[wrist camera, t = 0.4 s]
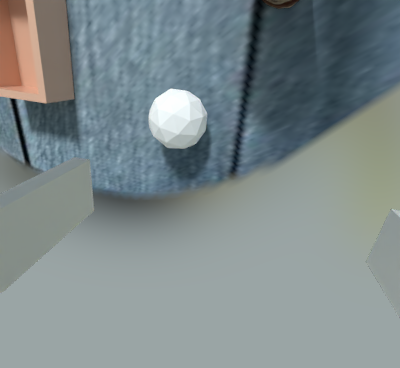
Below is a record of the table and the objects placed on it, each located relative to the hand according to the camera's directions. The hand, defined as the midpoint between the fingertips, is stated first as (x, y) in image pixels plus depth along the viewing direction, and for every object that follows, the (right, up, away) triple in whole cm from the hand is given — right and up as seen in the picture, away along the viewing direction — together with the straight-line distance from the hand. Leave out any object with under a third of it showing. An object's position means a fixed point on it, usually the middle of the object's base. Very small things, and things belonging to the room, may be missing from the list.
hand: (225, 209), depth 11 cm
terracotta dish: (-24, +22, +25) cm, 41 cm away
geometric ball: (-3, +11, +26) cm, 29 cm away
